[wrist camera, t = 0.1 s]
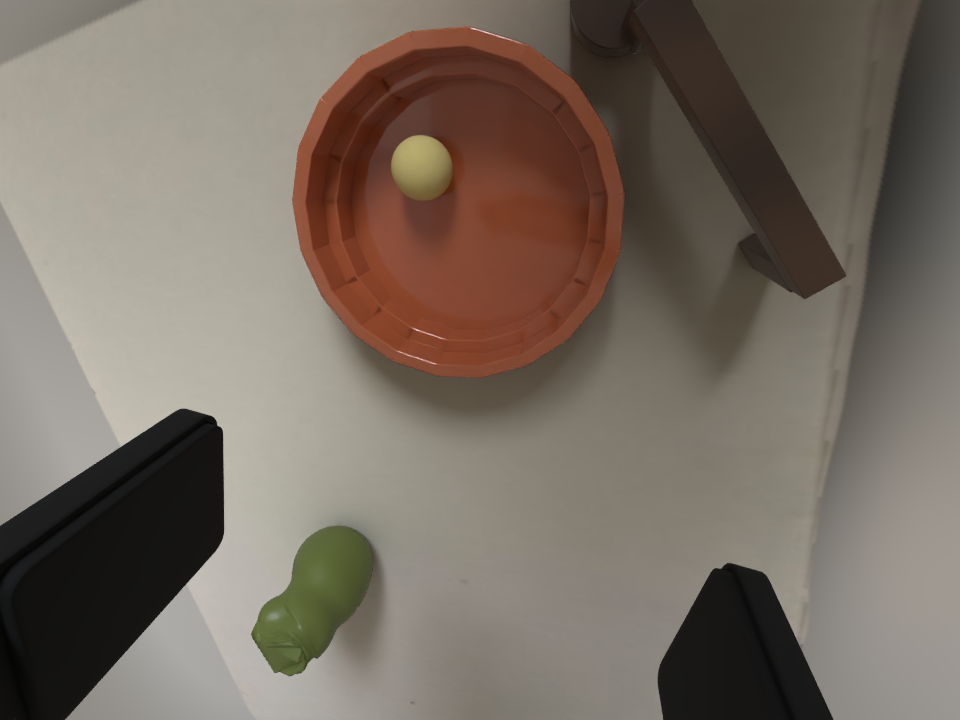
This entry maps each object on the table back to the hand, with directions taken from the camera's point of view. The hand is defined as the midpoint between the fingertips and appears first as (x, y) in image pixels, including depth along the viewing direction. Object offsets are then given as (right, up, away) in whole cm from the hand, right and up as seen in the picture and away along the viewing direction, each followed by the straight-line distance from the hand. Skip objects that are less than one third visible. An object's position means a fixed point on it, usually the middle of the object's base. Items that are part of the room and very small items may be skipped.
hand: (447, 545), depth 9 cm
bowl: (0, +11, +17) cm, 21 cm away
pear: (-9, -10, +28) cm, 31 cm away
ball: (-2, +13, +15) cm, 20 cm away
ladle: (+10, +15, +14) cm, 23 cm away
